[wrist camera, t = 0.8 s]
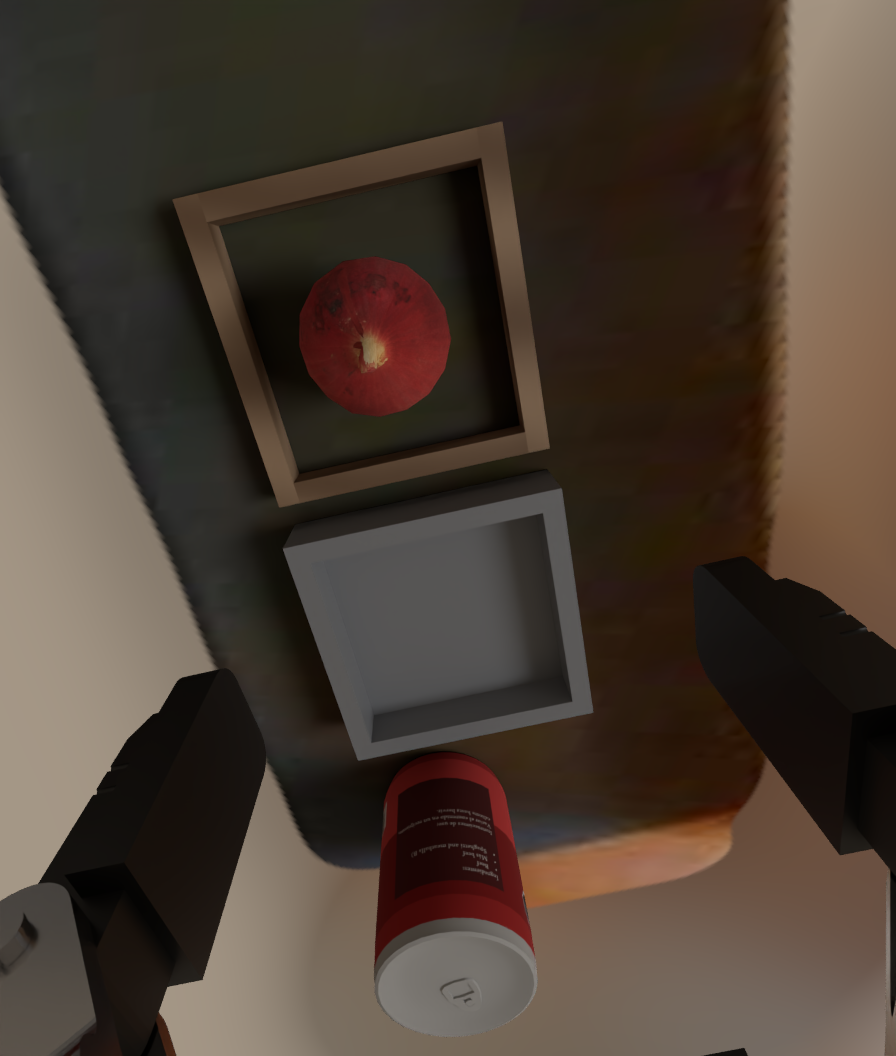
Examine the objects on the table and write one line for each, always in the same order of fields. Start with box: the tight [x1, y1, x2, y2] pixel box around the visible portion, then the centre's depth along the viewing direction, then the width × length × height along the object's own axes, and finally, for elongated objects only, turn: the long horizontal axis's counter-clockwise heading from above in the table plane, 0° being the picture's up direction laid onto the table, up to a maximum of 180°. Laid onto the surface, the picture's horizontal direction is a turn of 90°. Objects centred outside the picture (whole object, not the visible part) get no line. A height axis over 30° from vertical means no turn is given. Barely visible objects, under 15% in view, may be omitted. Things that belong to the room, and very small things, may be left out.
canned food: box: [374, 752, 538, 1037], centre depth 32 cm, size 8×8×11 cm
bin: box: [283, 470, 593, 761], centre depth 30 cm, size 13×13×3 cm
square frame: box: [172, 122, 550, 508], centre depth 25 cm, size 13×13×2 cm
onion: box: [299, 256, 451, 417], centre depth 22 cm, size 6×6×8 cm
